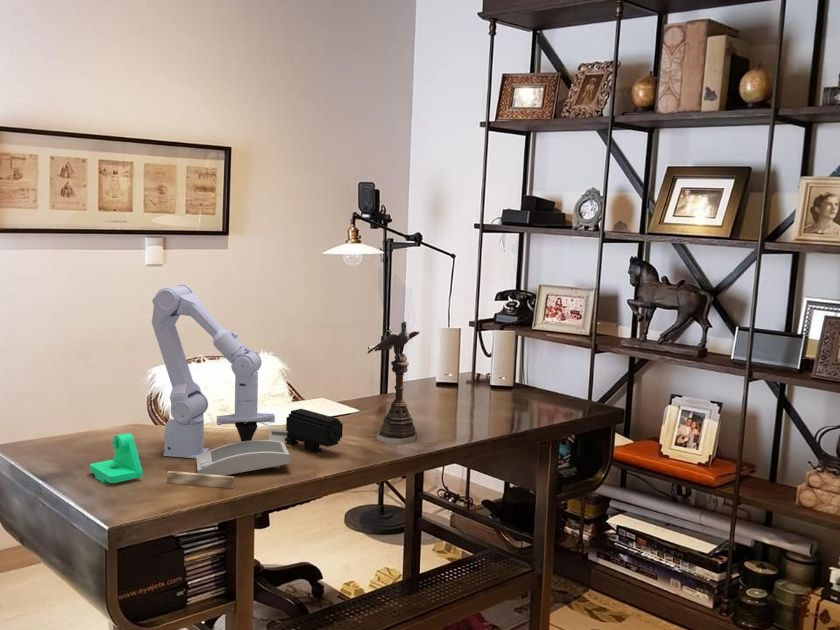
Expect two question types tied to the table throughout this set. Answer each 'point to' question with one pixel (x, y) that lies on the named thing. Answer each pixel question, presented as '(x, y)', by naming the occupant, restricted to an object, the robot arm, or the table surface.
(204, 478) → the rail
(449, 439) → the table surface
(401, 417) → the bird statue
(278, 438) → the label tag
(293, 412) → the security camera
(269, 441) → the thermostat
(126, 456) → the camera mount
